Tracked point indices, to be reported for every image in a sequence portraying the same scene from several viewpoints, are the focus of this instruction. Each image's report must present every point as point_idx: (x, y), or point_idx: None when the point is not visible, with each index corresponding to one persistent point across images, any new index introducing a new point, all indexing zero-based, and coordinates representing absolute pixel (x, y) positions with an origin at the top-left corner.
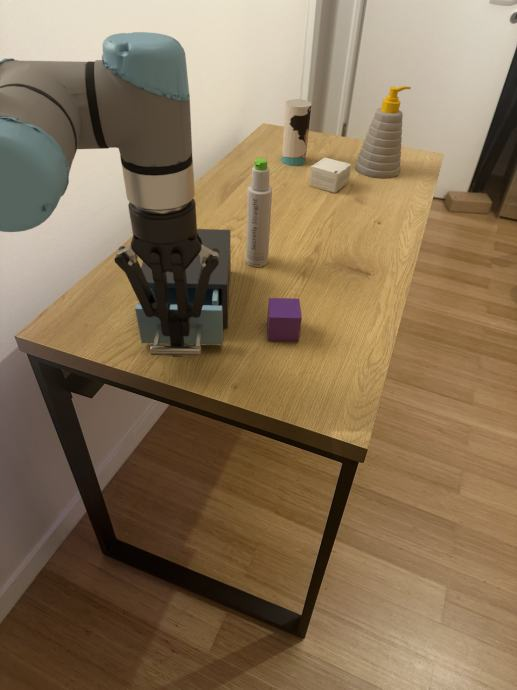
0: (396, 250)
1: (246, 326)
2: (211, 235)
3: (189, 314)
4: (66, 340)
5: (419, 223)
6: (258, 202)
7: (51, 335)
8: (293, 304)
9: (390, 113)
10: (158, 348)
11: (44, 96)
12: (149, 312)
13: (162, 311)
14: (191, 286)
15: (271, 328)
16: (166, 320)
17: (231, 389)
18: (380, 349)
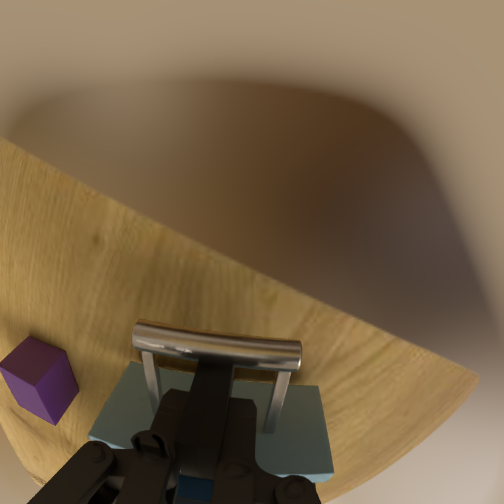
0: (7, 424)
1: (107, 391)
2: None
3: (129, 460)
4: (441, 381)
5: (9, 440)
6: None
7: (456, 387)
8: (18, 397)
9: None
10: (273, 358)
11: None
12: (294, 497)
13: (233, 500)
14: (183, 500)
15: (44, 367)
16: (225, 458)
17: (103, 234)
18: None
